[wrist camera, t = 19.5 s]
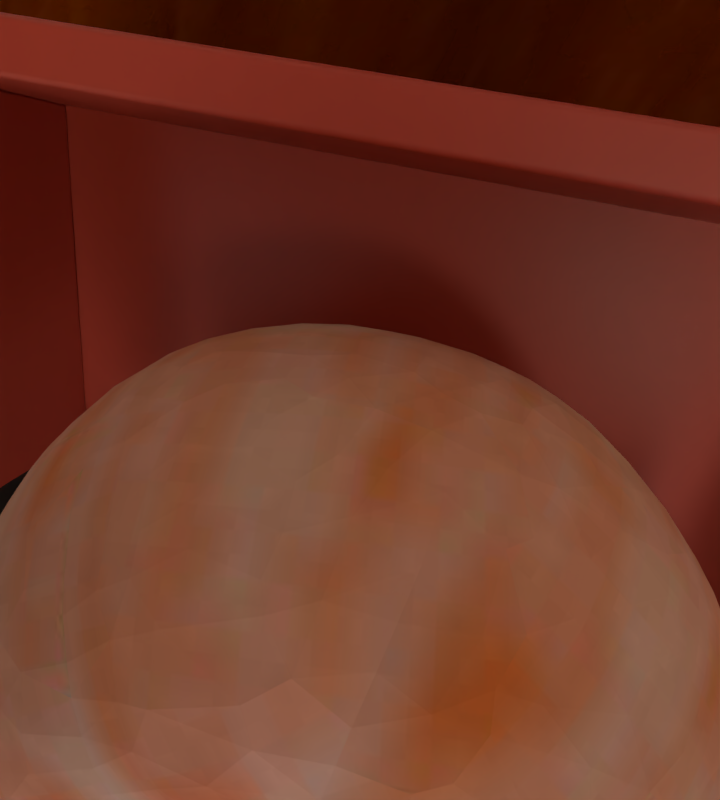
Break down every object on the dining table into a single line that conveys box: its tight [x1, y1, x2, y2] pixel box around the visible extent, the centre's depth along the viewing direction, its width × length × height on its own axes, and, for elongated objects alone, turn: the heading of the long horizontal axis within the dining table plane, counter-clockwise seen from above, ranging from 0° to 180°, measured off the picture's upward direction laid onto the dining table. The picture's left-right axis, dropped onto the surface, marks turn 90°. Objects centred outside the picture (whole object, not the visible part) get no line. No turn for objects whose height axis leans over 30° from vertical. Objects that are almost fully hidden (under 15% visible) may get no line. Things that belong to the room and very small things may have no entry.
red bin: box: [0, 12, 720, 607], centre depth 11 cm, size 16×18×5 cm
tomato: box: [0, 323, 720, 800], centre depth 8 cm, size 11×11×8 cm
